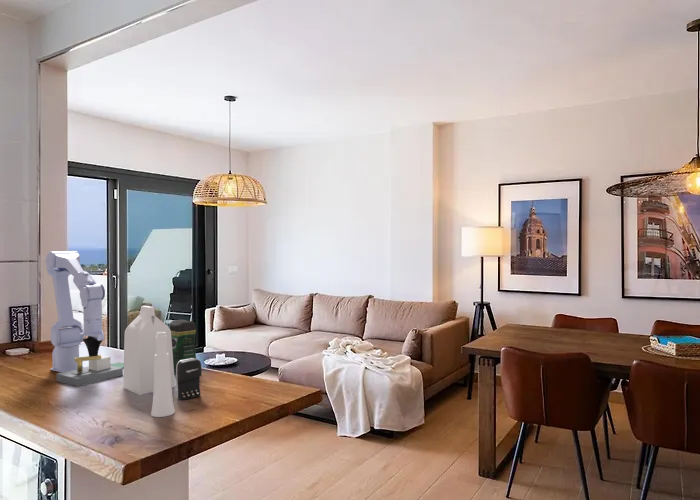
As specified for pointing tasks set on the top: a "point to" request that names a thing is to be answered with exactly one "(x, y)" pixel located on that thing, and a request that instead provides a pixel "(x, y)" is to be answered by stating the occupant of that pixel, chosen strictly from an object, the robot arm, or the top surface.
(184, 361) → the battery charger
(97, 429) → the top surface
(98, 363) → the white square block
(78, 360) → the brass lever handle
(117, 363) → the mat
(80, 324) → the robot arm
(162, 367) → the cosmetic bottle
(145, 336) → the milk
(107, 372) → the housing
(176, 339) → the coffee jar
